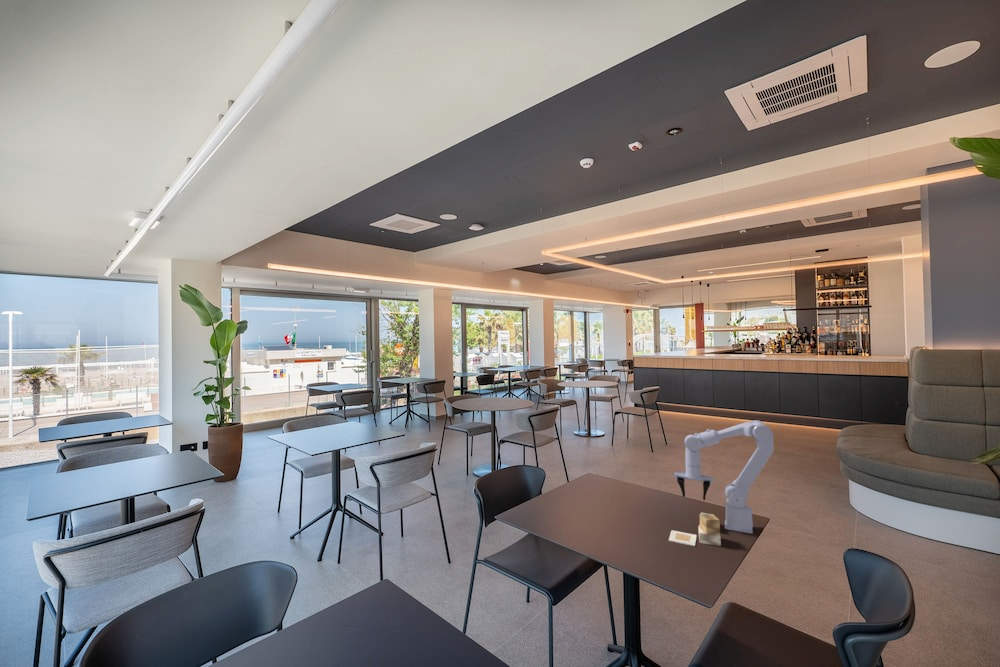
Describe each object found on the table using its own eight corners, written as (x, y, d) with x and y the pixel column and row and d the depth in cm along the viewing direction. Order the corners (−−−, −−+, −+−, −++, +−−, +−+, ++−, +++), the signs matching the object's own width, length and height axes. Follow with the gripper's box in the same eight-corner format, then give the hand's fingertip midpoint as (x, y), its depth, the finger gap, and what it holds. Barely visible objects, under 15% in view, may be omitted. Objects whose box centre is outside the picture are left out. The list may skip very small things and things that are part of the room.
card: (696, 536, 158) (696, 534, 158) (695, 546, 150) (695, 545, 150) (671, 531, 162) (671, 529, 162) (668, 541, 154) (668, 539, 154)
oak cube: (712, 527, 157) (712, 514, 157) (719, 533, 152) (719, 519, 152) (699, 527, 157) (699, 514, 157) (706, 533, 152) (706, 520, 152)
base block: (718, 538, 156) (718, 527, 156) (720, 547, 150) (720, 536, 150) (698, 535, 159) (698, 525, 159) (699, 543, 153) (699, 532, 153)
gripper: (712, 464, 171) (713, 497, 171) (675, 460, 178) (676, 491, 178) (712, 469, 165) (713, 503, 165) (673, 464, 172) (674, 497, 172)
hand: (694, 497), depth 171 cm, fingers open, 7 cm apart
